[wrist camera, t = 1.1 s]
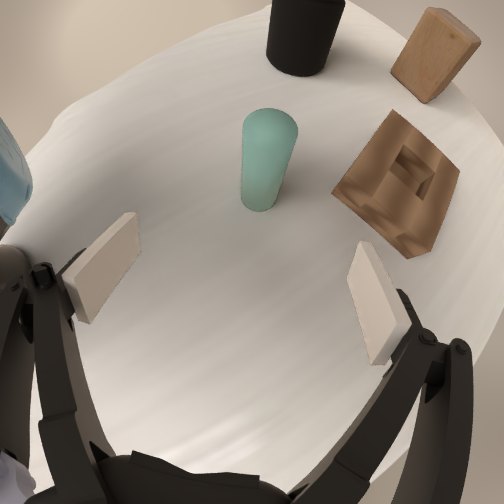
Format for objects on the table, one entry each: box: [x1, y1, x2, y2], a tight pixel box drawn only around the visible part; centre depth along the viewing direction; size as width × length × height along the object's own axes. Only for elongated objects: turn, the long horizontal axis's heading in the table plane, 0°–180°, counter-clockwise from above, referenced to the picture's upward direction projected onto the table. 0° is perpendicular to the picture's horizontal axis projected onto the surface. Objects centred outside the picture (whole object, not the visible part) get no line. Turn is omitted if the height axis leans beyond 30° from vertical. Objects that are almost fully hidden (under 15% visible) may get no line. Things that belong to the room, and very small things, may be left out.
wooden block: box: [391, 7, 481, 103], centre depth 31 cm, size 10×10×20 cm
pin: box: [241, 108, 298, 212], centre depth 27 cm, size 4×4×14 cm
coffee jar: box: [266, 0, 346, 76], centre depth 31 cm, size 11×11×18 cm
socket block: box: [331, 109, 460, 259], centre depth 32 cm, size 14×16×6 cm
